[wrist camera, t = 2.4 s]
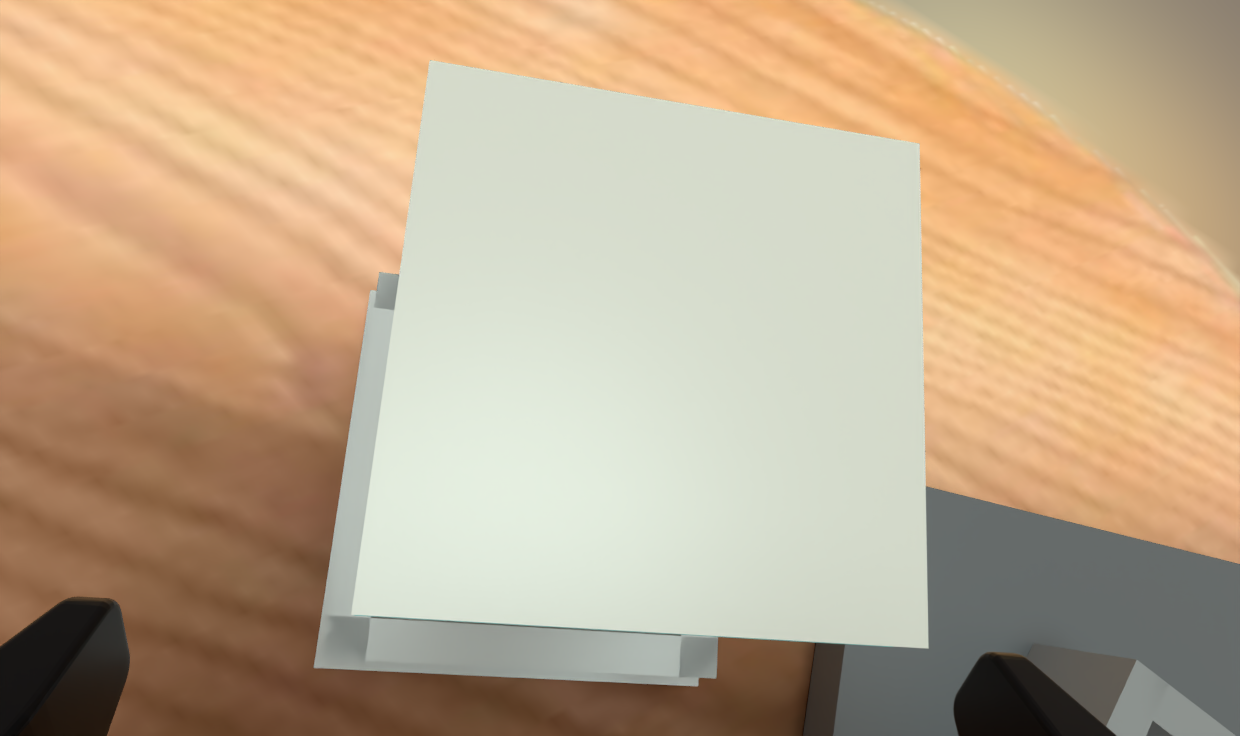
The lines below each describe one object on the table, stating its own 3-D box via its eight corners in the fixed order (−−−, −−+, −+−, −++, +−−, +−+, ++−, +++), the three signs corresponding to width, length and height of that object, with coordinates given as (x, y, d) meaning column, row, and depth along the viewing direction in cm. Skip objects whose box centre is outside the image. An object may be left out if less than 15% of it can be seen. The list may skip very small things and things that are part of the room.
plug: (616, 587, 18) (935, 657, 6) (425, 574, 17) (340, 622, 5) (629, 403, 19) (924, 139, 7) (448, 384, 18) (424, 54, 6)
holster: (686, 679, 19) (743, 712, 15) (322, 661, 17) (282, 692, 13) (702, 342, 21) (757, 294, 17) (374, 303, 19) (353, 240, 15)
